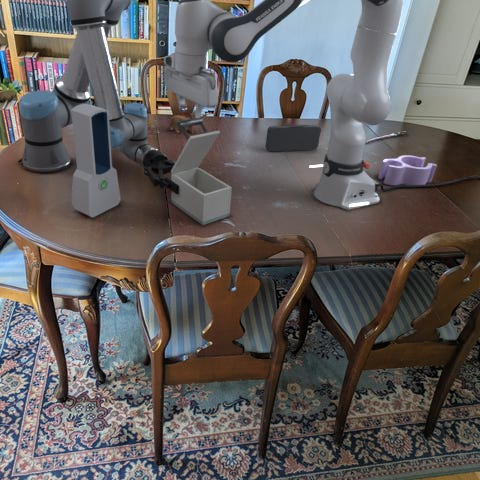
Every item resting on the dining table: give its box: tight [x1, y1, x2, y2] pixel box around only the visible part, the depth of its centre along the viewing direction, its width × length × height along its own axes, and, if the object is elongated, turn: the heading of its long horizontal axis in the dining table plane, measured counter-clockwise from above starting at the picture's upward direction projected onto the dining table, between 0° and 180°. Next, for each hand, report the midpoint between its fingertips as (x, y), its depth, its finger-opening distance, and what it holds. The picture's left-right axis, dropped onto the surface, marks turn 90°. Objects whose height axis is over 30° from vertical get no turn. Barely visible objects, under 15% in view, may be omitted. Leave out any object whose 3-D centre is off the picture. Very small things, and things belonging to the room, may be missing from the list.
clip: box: [377, 154, 438, 186], centre depth 174 cm, size 20×12×7 cm, turn 109°
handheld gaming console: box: [264, 124, 322, 152], centre depth 189 cm, size 23×3×10 cm, turn 108°
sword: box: [365, 132, 406, 144], centre depth 214 cm, size 31×3×1 cm, turn 126°
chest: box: [170, 166, 233, 226], centre depth 141 cm, size 16×10×10 cm, turn 41°
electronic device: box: [70, 104, 122, 218], centre depth 130 cm, size 12×8×30 cm, turn 148°
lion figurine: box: [166, 109, 196, 134], centre depth 195 cm, size 15×5×9 cm, turn 110°
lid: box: [170, 116, 221, 174], centre depth 137 cm, size 17×10×8 cm
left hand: (192, 185), depth 142 cm, fingers closed on chest, 10 cm apart
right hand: (189, 114), depth 132 cm, fingers open, 5 cm apart
